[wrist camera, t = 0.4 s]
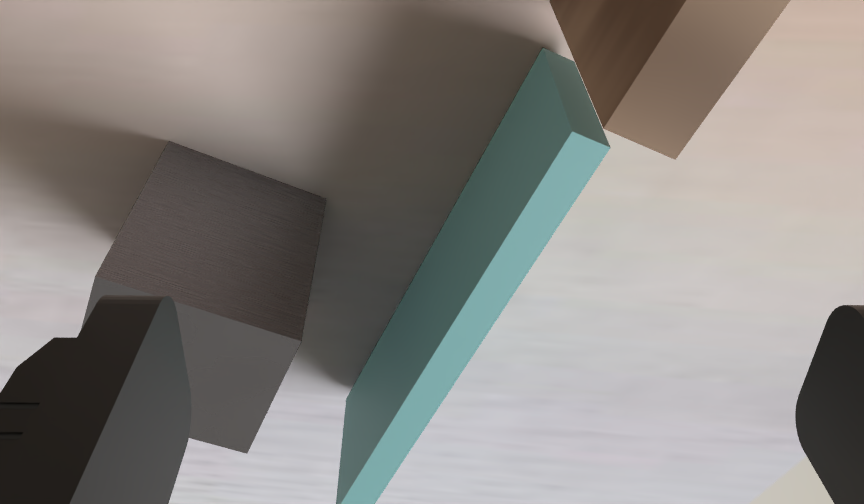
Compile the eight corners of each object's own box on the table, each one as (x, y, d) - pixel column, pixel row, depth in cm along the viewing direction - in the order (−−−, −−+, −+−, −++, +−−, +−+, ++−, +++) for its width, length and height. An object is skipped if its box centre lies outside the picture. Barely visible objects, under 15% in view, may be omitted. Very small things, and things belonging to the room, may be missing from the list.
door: (542, 47, 26) (572, 131, 21) (574, 61, 26) (610, 147, 21) (346, 398, 35) (335, 512, 30) (371, 406, 36) (363, 520, 31)
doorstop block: (169, 140, 28) (95, 276, 22) (326, 198, 30) (301, 341, 23) (135, 253, 31) (62, 403, 25) (280, 300, 33) (247, 453, 26)
